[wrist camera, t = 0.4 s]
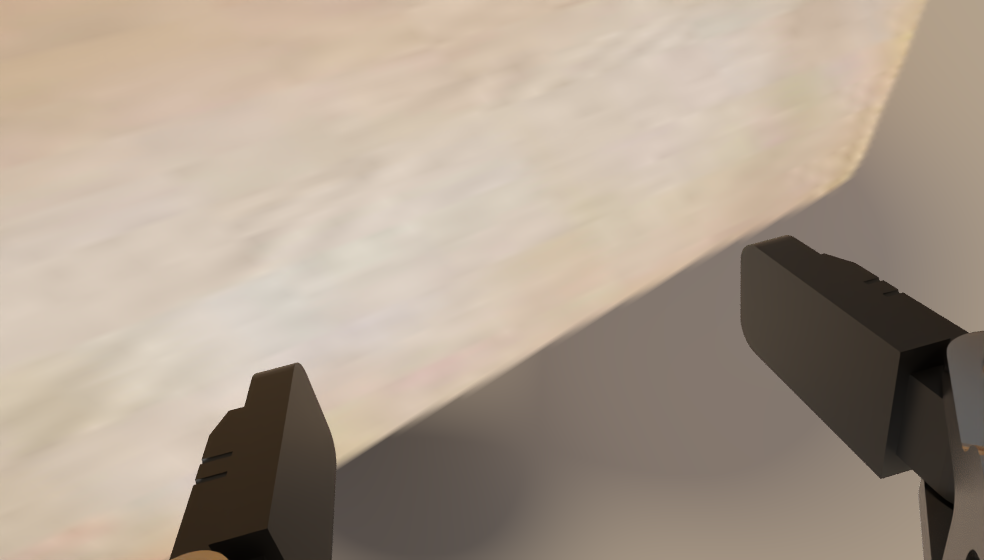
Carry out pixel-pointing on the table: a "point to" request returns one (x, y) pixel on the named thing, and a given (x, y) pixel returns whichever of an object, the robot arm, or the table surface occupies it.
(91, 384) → the table surface
